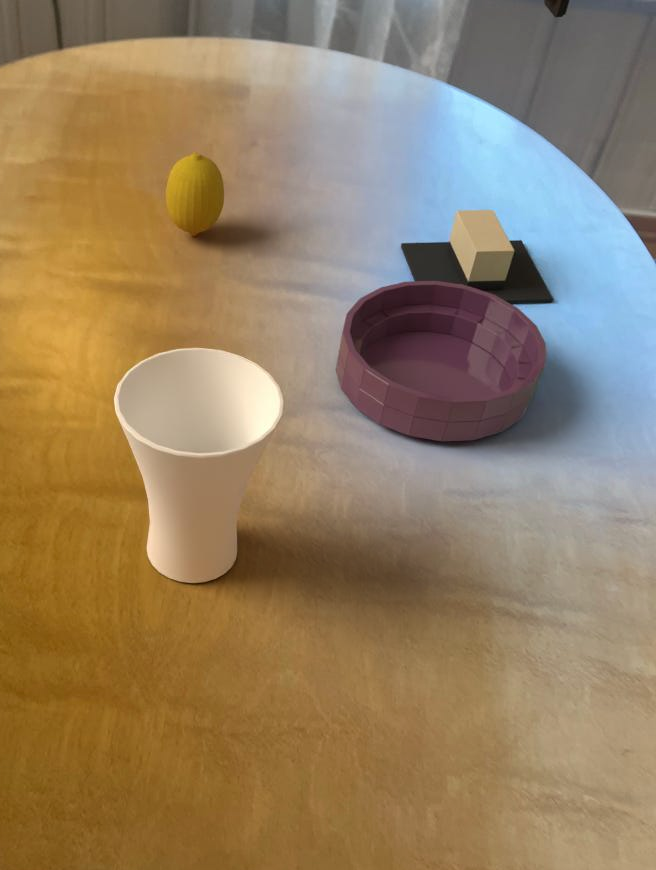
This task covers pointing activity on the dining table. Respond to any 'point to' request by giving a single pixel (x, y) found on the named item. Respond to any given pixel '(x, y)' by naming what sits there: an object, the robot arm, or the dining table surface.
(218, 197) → the lemon
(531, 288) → the mat
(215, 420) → the cup
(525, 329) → the bowl
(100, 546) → the dining table surface
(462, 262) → the eraser
